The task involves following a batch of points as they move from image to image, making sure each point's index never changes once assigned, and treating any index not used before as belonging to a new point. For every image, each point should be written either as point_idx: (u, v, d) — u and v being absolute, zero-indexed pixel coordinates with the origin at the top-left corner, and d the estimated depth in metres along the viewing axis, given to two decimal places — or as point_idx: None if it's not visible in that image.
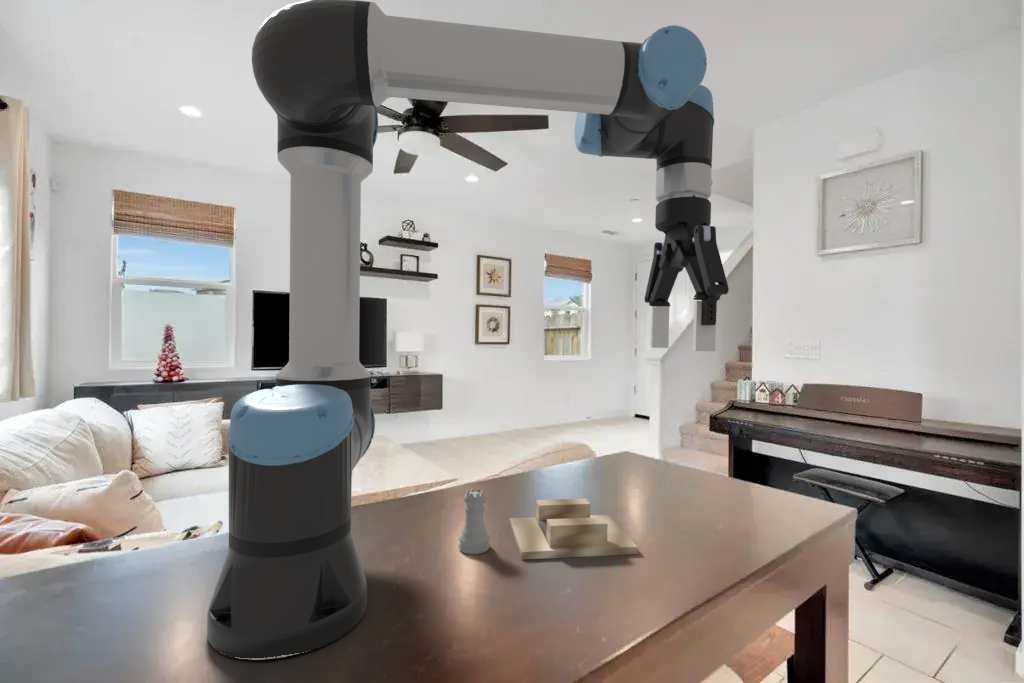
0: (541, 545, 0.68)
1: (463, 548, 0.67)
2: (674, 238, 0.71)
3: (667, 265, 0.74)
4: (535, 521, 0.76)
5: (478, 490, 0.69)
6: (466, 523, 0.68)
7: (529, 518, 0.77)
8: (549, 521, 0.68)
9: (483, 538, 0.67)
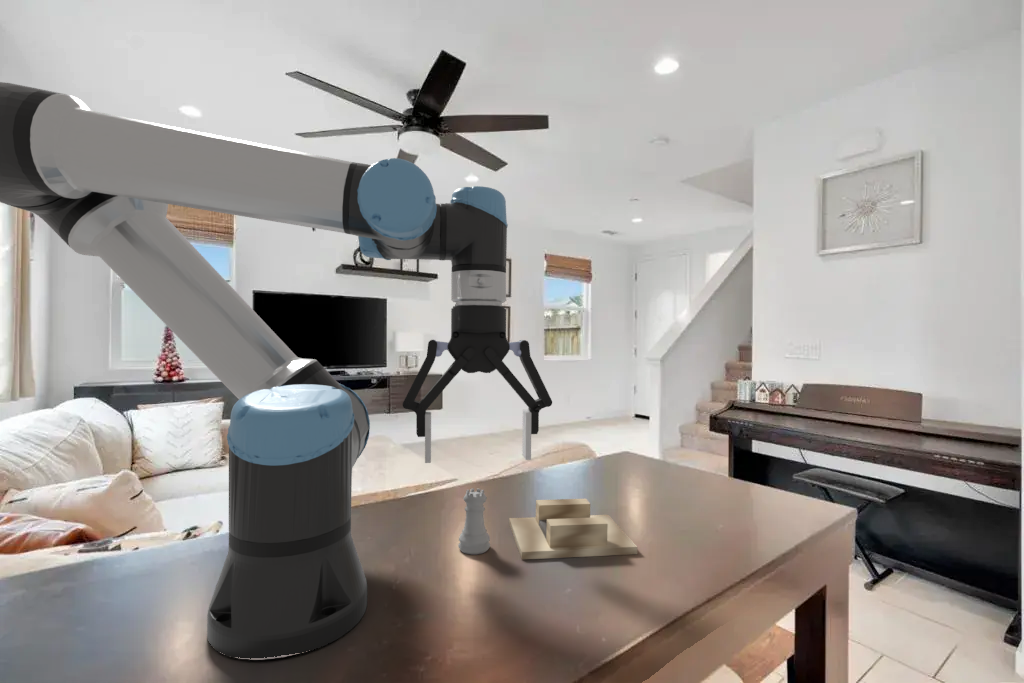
0: (541, 545, 0.68)
1: (463, 548, 0.67)
2: None
3: None
4: (535, 521, 0.76)
5: (478, 490, 0.69)
6: (466, 523, 0.68)
7: (529, 518, 0.77)
8: (549, 521, 0.68)
9: (483, 538, 0.67)
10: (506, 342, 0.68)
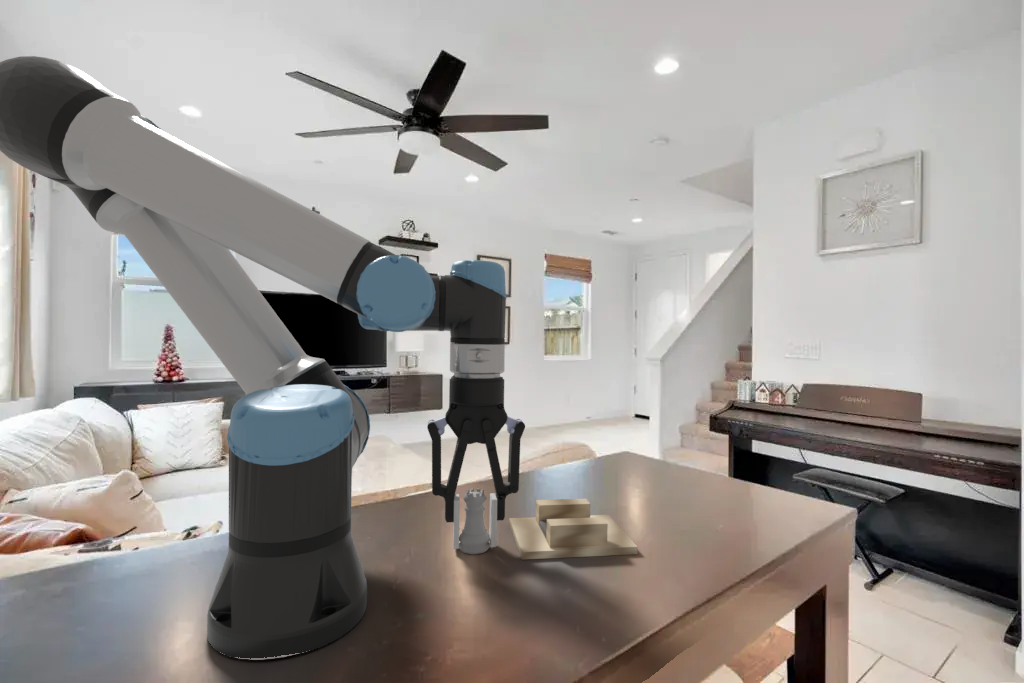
0: (541, 545, 0.68)
1: (463, 548, 0.67)
2: None
3: None
4: (535, 521, 0.76)
5: (478, 490, 0.69)
6: (466, 523, 0.68)
7: (529, 518, 0.77)
8: (549, 521, 0.68)
9: (483, 537, 0.67)
10: (505, 416, 0.68)
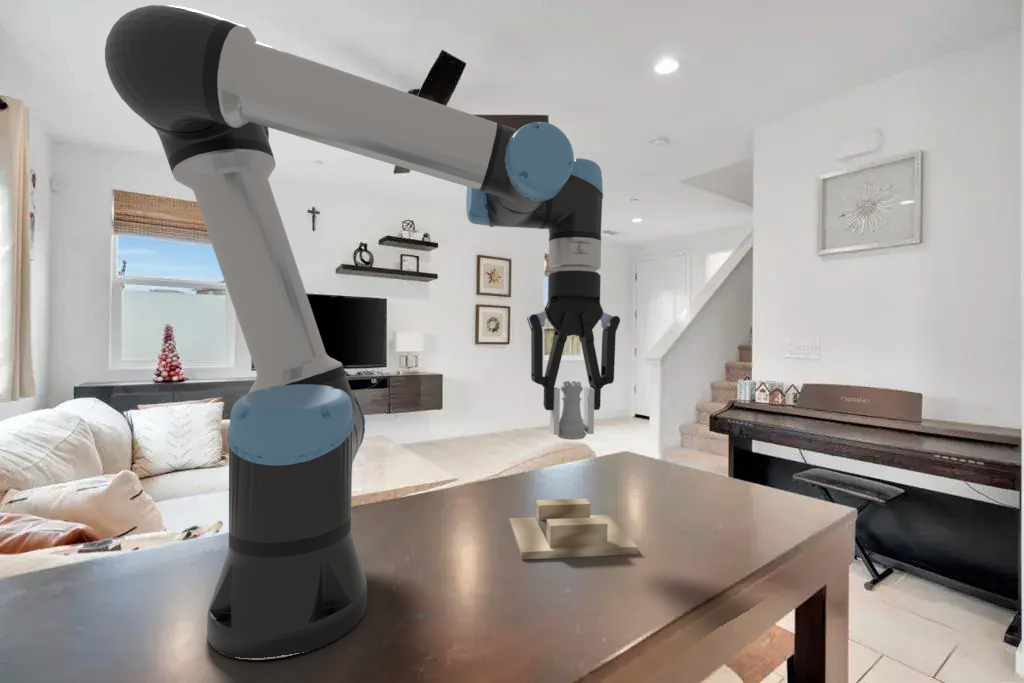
0: (541, 545, 0.68)
1: (563, 434, 0.71)
2: None
3: (583, 336, 0.73)
4: (535, 521, 0.76)
5: (573, 382, 0.73)
6: (564, 411, 0.72)
7: (529, 518, 0.77)
8: (549, 521, 0.68)
9: (581, 424, 0.71)
10: (602, 310, 0.72)
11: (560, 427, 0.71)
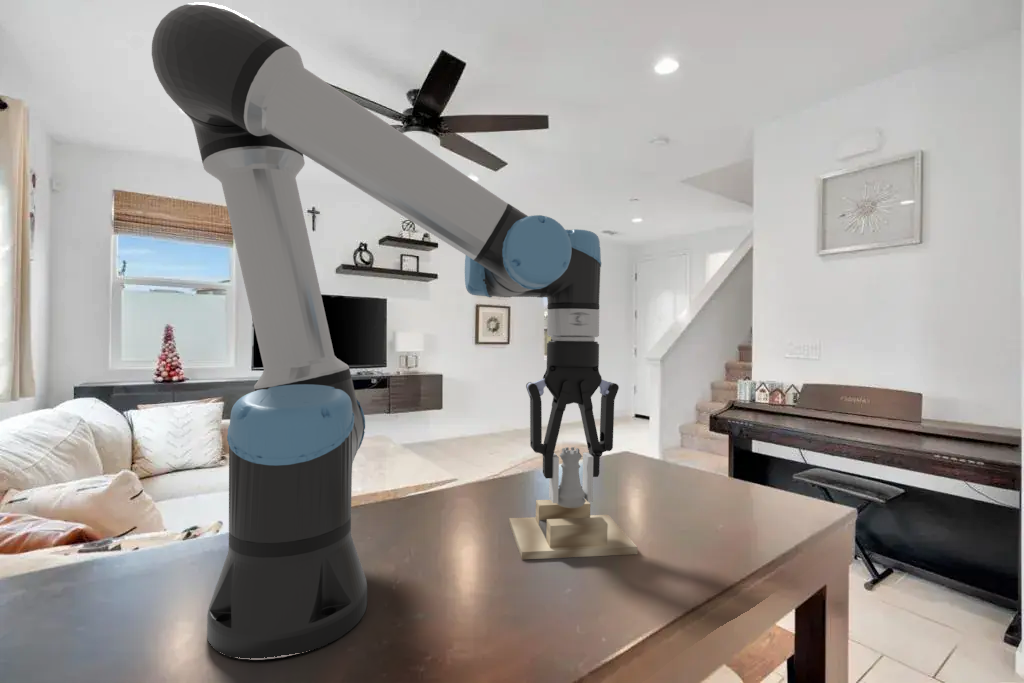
0: (541, 545, 0.68)
1: (562, 502, 0.71)
2: None
3: None
4: (535, 521, 0.76)
5: (572, 448, 0.73)
6: (563, 479, 0.72)
7: (529, 518, 0.77)
8: (549, 521, 0.68)
9: (581, 492, 0.71)
10: (600, 377, 0.72)
11: (559, 495, 0.71)
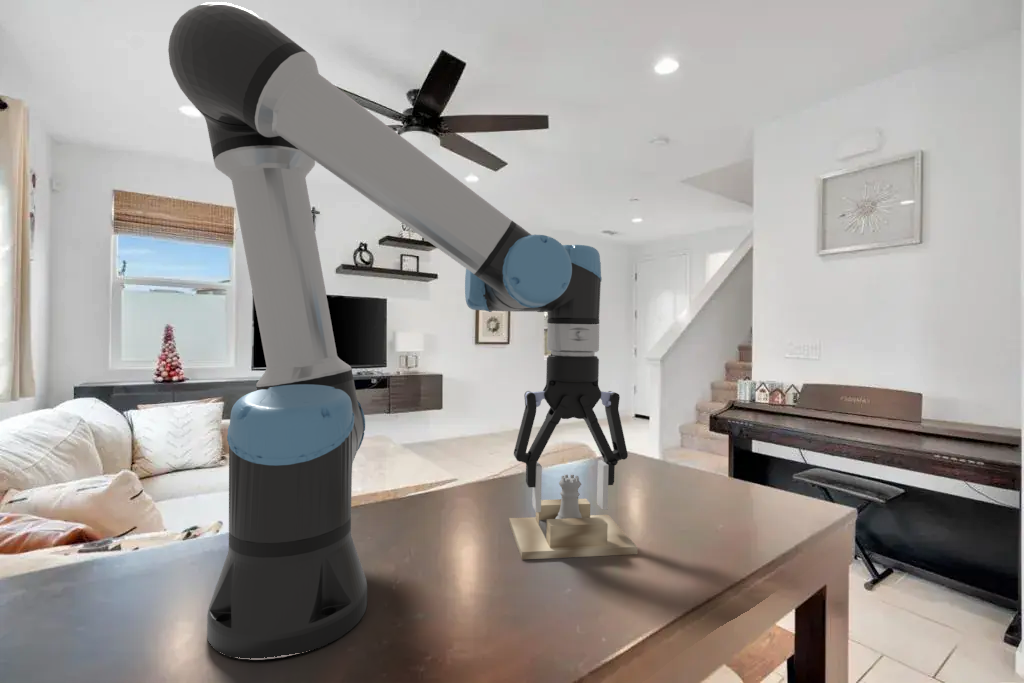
0: (541, 545, 0.68)
1: None
2: None
3: None
4: (535, 521, 0.76)
5: (572, 476, 0.73)
6: (562, 507, 0.72)
7: (529, 518, 0.77)
8: (549, 521, 0.68)
9: None
10: (599, 391, 0.72)
11: None
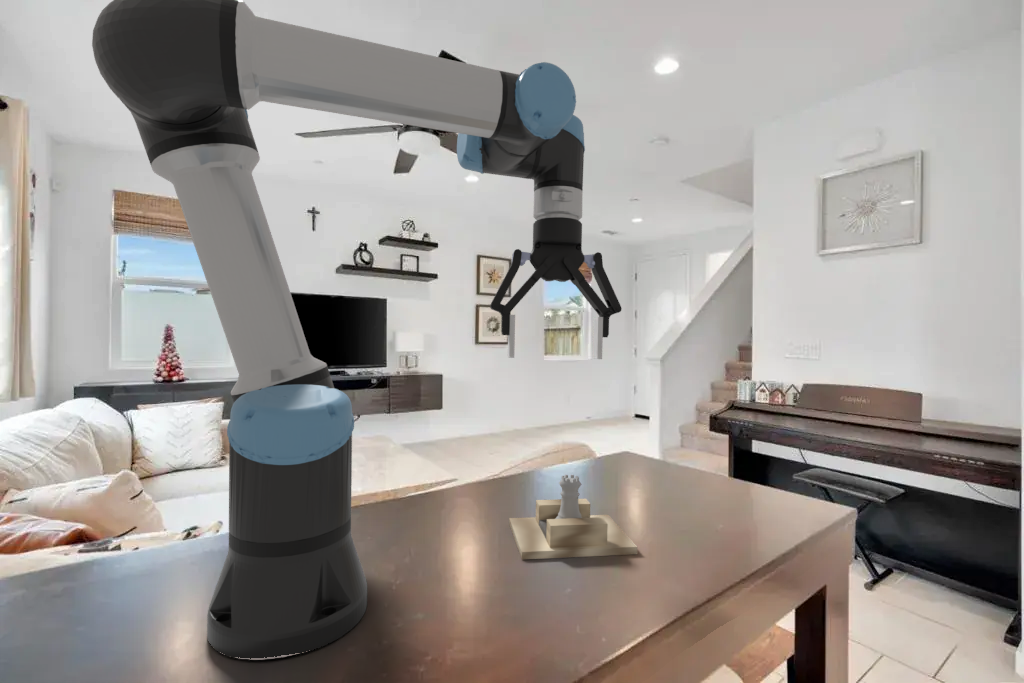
0: (541, 545, 0.68)
1: None
2: None
3: (575, 278, 0.78)
4: (535, 521, 0.76)
5: (572, 476, 0.73)
6: (563, 507, 0.72)
7: (529, 518, 0.77)
8: (549, 521, 0.68)
9: None
10: (582, 254, 0.76)
11: None
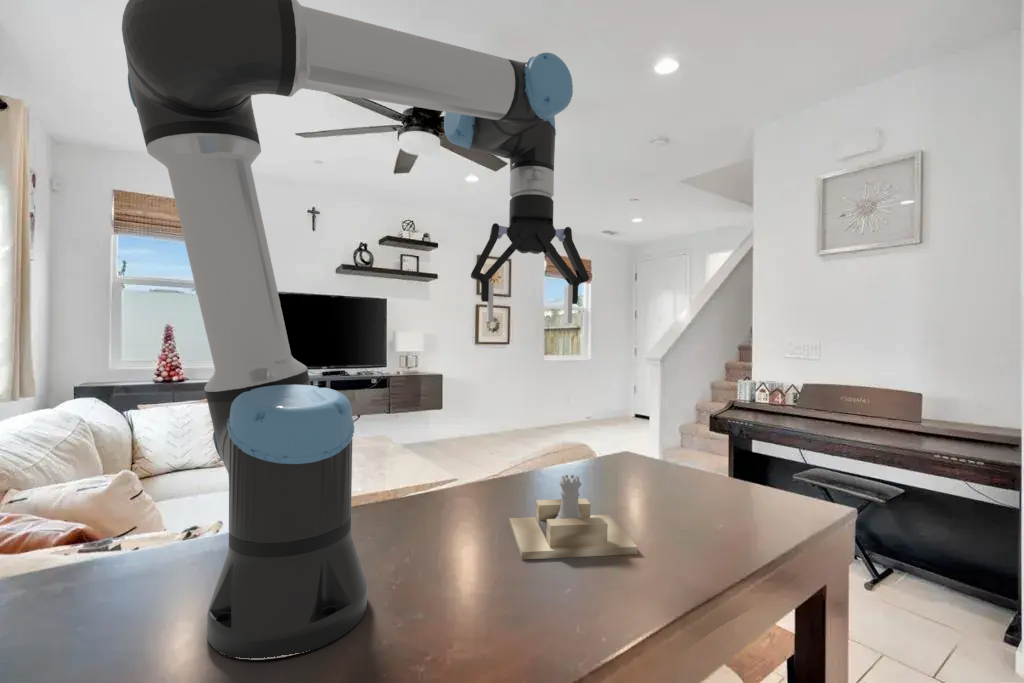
0: (541, 545, 0.68)
1: None
2: None
3: None
4: (535, 521, 0.76)
5: (572, 476, 0.73)
6: (563, 507, 0.72)
7: (529, 518, 0.77)
8: (549, 521, 0.68)
9: None
10: (553, 228, 0.85)
11: None
